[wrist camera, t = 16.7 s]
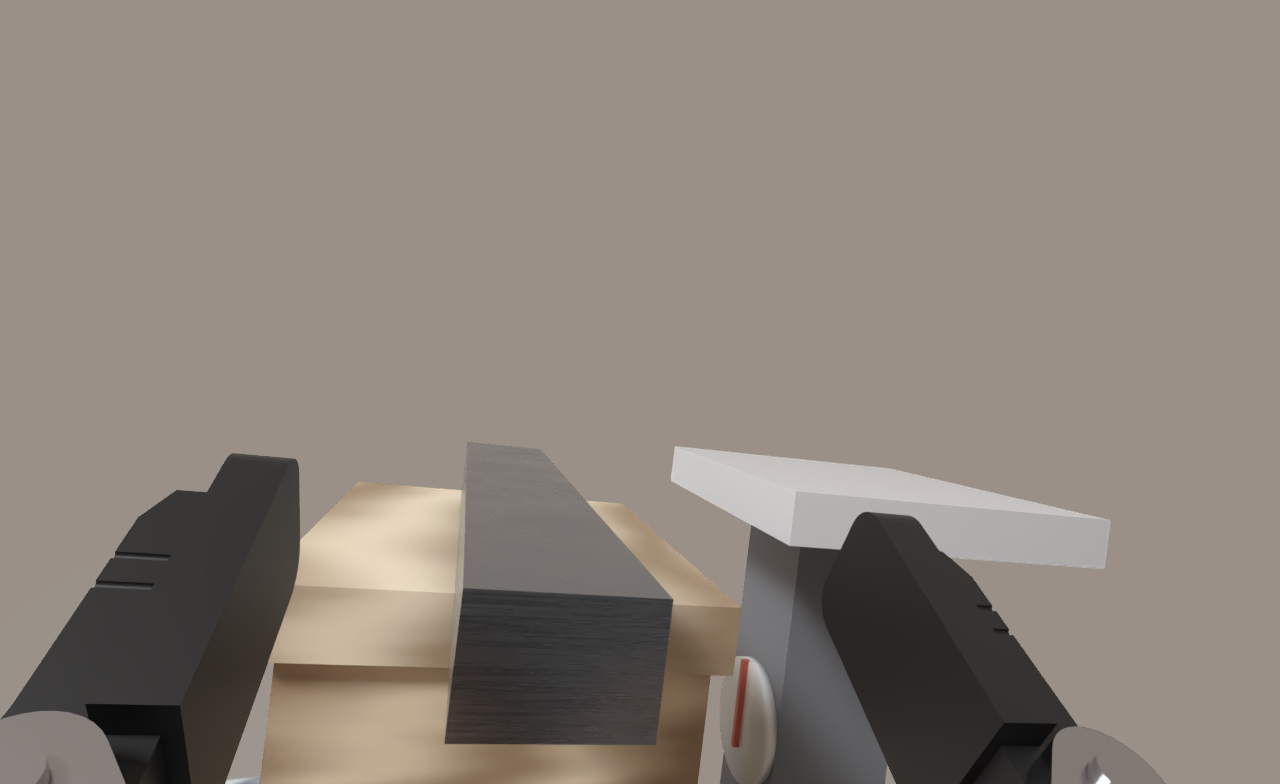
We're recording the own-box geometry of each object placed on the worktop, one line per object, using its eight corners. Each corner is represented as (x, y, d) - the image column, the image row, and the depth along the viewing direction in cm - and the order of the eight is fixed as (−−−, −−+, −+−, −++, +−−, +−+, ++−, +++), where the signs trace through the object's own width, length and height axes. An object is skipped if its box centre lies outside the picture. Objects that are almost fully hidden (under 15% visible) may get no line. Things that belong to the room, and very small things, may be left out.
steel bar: (534, 499, 36) (540, 449, 36) (655, 745, 12) (672, 599, 12) (461, 493, 35) (467, 442, 35) (443, 743, 12) (463, 587, 12)
